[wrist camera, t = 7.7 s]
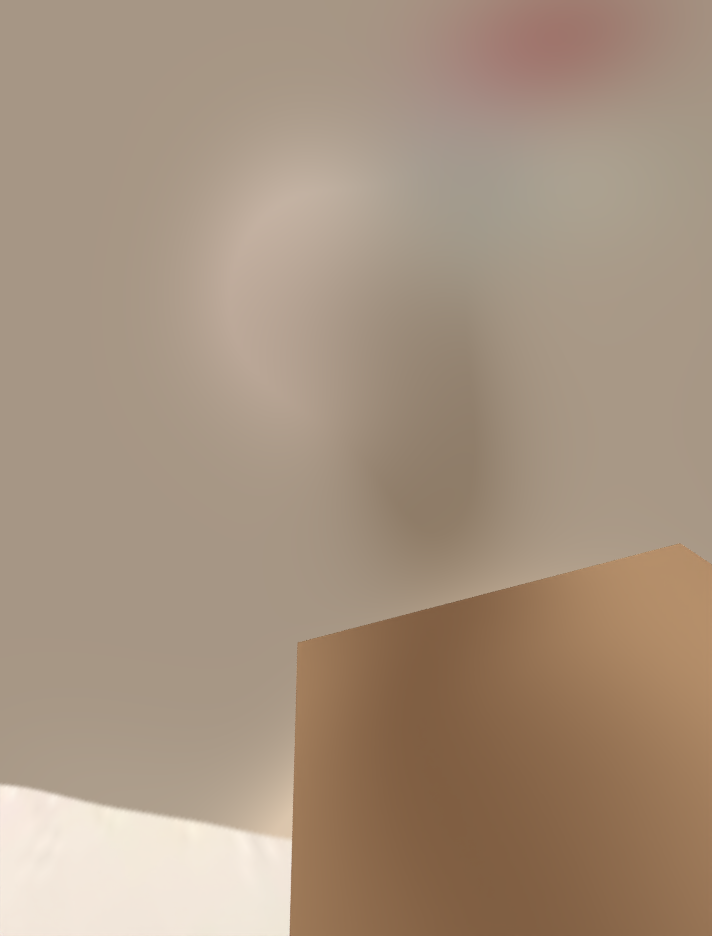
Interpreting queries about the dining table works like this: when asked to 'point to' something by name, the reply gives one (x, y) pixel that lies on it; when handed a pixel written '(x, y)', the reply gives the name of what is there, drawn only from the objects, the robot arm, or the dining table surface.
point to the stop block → (513, 762)
